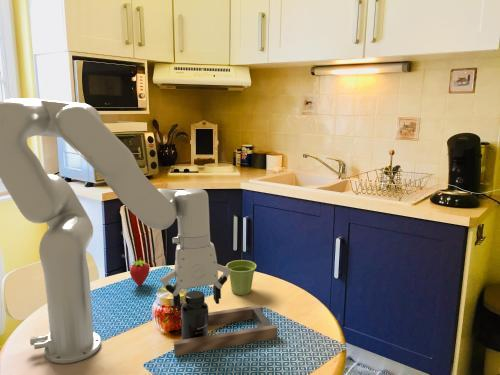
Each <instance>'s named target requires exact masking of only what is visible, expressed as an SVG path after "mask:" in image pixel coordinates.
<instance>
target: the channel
mask: <svg viewBox="0 0 500 375" xmlns="http://www.w3.org/2000/svg"><path fill="white" fill-rule="evenodd" d="M263 311H264V308H263V306H262V304H257V305H251V306H244V307H238V308H229V309H223V310H217V311H210V312H209V311H208V327H210V326H215V325H221V324H227V323H228V324H229V323H235V322H240V321H241V322H242V321H247V320H253V322H254V324H255V325H256V326H257V327H253V328H247V329H240V330H234V331H227V332H221V333H215V334H208V336H202V337H196V338H190V339H184V340H182V339H179V340H174V341H173V354H174V357H177V356H178V357H179V356H182V355H188V354H195V353H200V352H206V351H211V350H217V349H224V348H228V347H234V346H240V345H246V344H252V343H258V342H264V341H269V340H275V339H278V325H276V324H272V323H271V322H270V321H269V319H268V318H267V316H266V315H265V313H264V312H263Z"/></svg>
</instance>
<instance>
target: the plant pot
mask: <svg viewBox="0 0 500 375" xmlns="http://www.w3.org/2000/svg"><path fill="white" fill-rule="evenodd" d="M225 267H228V268H229V269H230V270H231V272H230V274H229V281H230V287H231V293H232V294H235V295H237V296H245V295H249V293H251V292H252V286H253V279H254V273H255V272H256V271H255V270H256V269H257V264H256V263H255V262H254V261H251V260H245V259H244V260H243V259H239V260H232V261H230V262H227V264H226V265H225Z"/></svg>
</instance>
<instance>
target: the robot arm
mask: <svg viewBox="0 0 500 375" xmlns="http://www.w3.org/2000/svg"><path fill="white" fill-rule="evenodd" d="M36 136H37V137H38V136H39V137H49V138H50V137H52V138H61V139H63V140H64V141H65V142H66V144H67V145H69V146H70V147H71V148H72V149H73V150H74V151H75V152H76V153H77V154H78V155H79V156H80V157H81V158H82V159H83V160H84V161H85V162H86V163H88V164H89V166H91V167H92V168H93V169H94V170H95V171H96V172H97V173H98V174H99V176H101V177H102V178H103V180H104V182H105V183H106V185H107V186H108V187H109V188H110V189H111V191H112V192H113V193H114V195H115V196H116V197H117V198H118V199H119V200H120V202H121V203H122V204H123V205H124V206H125V207H126V208H127V209H128V210H129V211H130V212H131V213H132V214H133V215H134V216H135V217H137V219H138V220H139V221H141V222H142V223H143V224H144V225H145V226H147V227H149V228H150V229H152V230H156V231H162V230H166V229H169V228H170V227H171V226H172V225H173V224H174V222H175V220H176V219H177V232H178V233H177V236H175V237H172V244H177V245H176V246H175V247H176V248H175V254H174V255H175V256H174V269H172V270H171V271H169V272H168V273H166V274H164V275H163V276H161V277H160V282H161V284H162V285H163V287H164V288H165V290H166V291H168V292H169V293H171V294H172V299H173V307H176V308H177V311H180V312H181V307H182V305H181V304H182V303H181V295H180V292H181V291H182V290H187V289H194V288H195V289H196V288H201V287H208V286H212V288H213V289H212V291H213V293H212V294H213V295H212V296H213V300H214V302H215V304H217V305H218V304H220V300H221V298H222V288H223V285H225V283H226V282H227V281H228V278H229V277H230V275H229V274H230V272H231V270H230V269H229V268H228V267H226V265H225V266H224V265H221V264H219V263H218V260H217V253H216V248H215V245H214V243H213V242H212V241H211V232H210V231H211V229H210V206H209V205H210V204H209V195H208V192H207V191H206V190H205V189H203V188H197V187H196V188H193V187H192V188H185V189H172V188H171V189H170V188H157V187H156V186H155V185H154V184H153V183H152V181H150V180H149V179H148V178H147V177H146V175H145V174H144V172H143V171H142V170H141V168H140V166H139V165H138V162H137V160H136V158H135V156H134V153H132V151H131V150H130V149H129V147H127V146H126V145H125V143H124V142H123V141H121V140H120V139H119V137H117V135H115V134H114V133H113V132H112V131H111V130H110V129H109V128H108V126H106V124H105V123H104V122H103V121H102V117H101V115H100V113H99V112H98V110H97V109H96V108H95V107H93V106H92V105H90V104H87V103H84V102H82V103H81V102H68V101H58V100H48V99H47V100H46V99H40V98H8V99H4V100H1V101H0V180H1V183H2V184H3V186H4V187H5V189H6V191H7V192H8V193H9V195H10V197H11V198H12V201H13V202H14V204H15V205H16V207H17V209H18V210H19V212H20V213H21V215H22V216H23V217H24V218H25V219H26V220H27V221H29V222H31V223H33V224H44V223H46V225H47V226H48V229H47V230H46V231H45V232H44V233H43V236H42V238H41V240H40V242H39V246H38V247H39V248H38V249H39V250H38V252H39V259H40V262H41V267H42V270H43V277H44V286H45V294H46V304H47V315H48V323H49V326H48V328H49V332H48V333H45V335H35V336H31V337H29V338H30V339H29V344H30V346H34V347H33V348H34V350H40V349H43V348H44V357H45V358H46V359H47V361H49V362H52V363H56V364H71V363H76V362H77V363H78V362H80V361H83V360H86V359H88V358H90V357H91V356H92V355H94V354H95V353H97V351H98V350H99V349H100V347H101V344H102V342H101V340H102V339H101V335H99V334H98V333H96V332H95V331H94V324H93V322H94V320H93V309H92V296H91V295H92V292H91V283H90V282H91V280H90V271H89V265H88V259H87V249H88V247H89V244H90V242H91V240H92V239H93V235H94V226H93V224H92V220H91V219H90V217H89V215H88V213H87V211H86V209H85V208H84V207H83V204H82V203H81V201H80V199H79V198H78V196H77V194H76V193H75V190H74V189H73V188H72V186H71V184H70V183H69V182H68V181H66V180H65V179H64V178H63V177H61V176H60V175H57V174H52V173H47V171H46V170H45V169H44V167H43V165H42V163H41V162H40V158H38V156H37V155H36V153H34V152H33V150H32V149H31V148H30V146H29V145H28V141H27V140H28V138H31V137H36ZM219 272H222V274H221V276H220V277H219ZM173 278H175V281H176V282H175V283H174V284H173V285H172V284H171V283H169V281H170V280H172V279H173Z"/></svg>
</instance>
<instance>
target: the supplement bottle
mask: <svg viewBox="0 0 500 375" xmlns="http://www.w3.org/2000/svg"><path fill="white" fill-rule="evenodd" d="M208 313H209V306H208V303H207V302H206V301H205V293H204V292H203V291H201V290H197V289H196V290H190V291H187V292H186V293H185V295H184V303H182V305H181V310H180V317H181V330H180V333H181V334H180V335H181V336H180V337H181V340H184V339H190V338H196V337H202V336H208V335H209V326H208Z"/></svg>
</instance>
